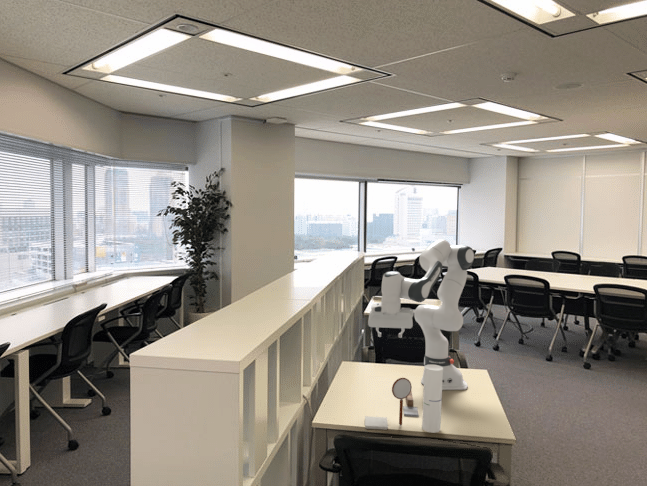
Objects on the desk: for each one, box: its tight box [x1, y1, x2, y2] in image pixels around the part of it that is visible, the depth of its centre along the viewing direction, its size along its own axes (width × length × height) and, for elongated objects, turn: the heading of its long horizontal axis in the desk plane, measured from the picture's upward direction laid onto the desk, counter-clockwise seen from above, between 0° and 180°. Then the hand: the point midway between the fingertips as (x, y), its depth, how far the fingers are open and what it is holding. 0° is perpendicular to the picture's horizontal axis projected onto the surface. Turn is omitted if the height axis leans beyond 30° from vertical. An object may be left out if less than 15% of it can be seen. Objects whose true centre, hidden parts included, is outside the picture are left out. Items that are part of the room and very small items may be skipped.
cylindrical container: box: [421, 364, 443, 433], centre depth 198 cm, size 7×7×25 cm
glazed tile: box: [364, 415, 389, 431], centre depth 202 cm, size 9×2×9 cm
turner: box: [403, 390, 420, 418], centre depth 221 cm, size 22×6×4 cm, turn 174°
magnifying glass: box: [391, 377, 412, 427], centre depth 200 cm, size 9×2×20 cm, turn 110°
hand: (389, 336), depth 229 cm, fingers open, 8 cm apart
